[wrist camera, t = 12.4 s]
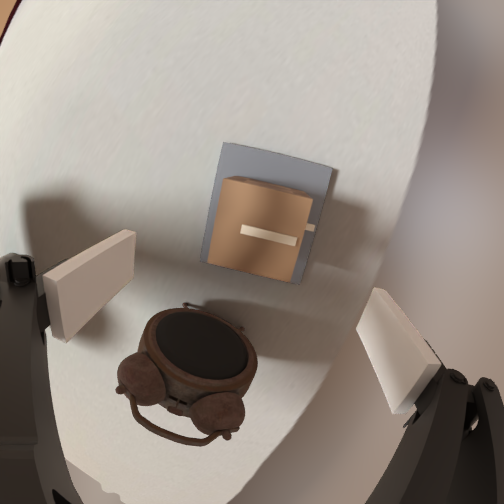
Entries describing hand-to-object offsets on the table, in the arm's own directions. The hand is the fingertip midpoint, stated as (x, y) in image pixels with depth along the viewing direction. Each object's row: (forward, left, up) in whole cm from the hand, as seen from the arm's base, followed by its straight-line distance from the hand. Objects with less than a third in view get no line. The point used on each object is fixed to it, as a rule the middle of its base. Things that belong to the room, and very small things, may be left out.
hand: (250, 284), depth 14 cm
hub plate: (0, 0, -20) cm, 20 cm away
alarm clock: (-4, -17, -20) cm, 27 cm away
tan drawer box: (0, 0, -19) cm, 19 cm away
